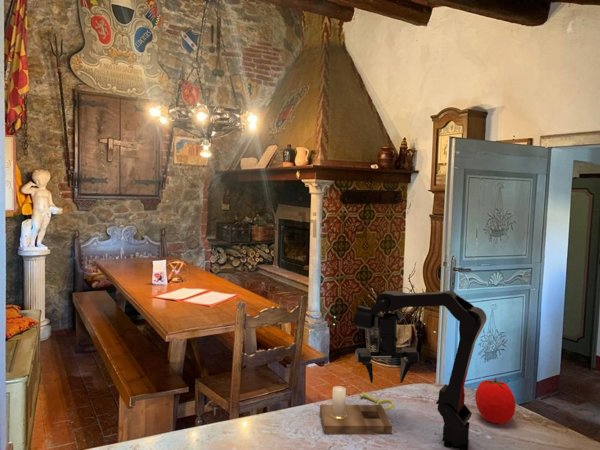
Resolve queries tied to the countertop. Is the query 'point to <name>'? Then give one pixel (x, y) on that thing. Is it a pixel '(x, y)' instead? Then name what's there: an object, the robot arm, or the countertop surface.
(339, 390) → the ivory candle
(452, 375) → the robot arm
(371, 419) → the walnut holder
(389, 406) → the key
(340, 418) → the brass disc
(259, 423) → the countertop surface
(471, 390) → the countertop surface
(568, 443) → the countertop surface
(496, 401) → the tomato
